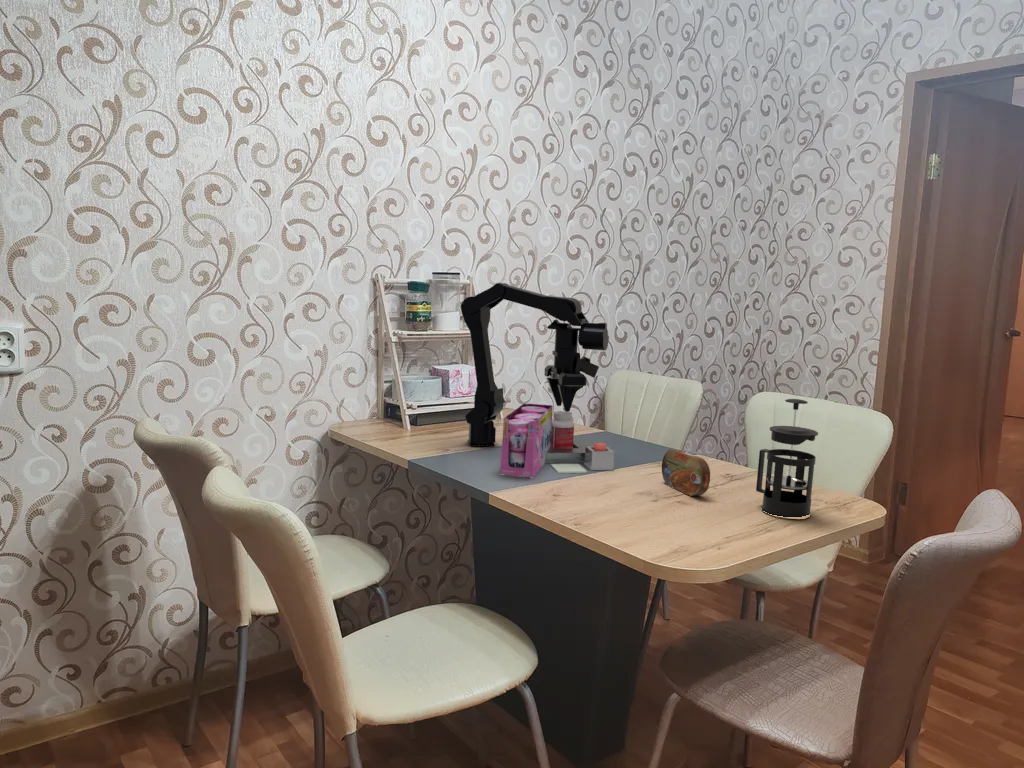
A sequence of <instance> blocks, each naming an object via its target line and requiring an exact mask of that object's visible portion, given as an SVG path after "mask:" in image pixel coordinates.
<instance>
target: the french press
mask: <svg viewBox="0 0 1024 768" xmlns="http://www.w3.org/2000/svg"><path fill="white" fill-rule="evenodd" d="M784 401H785V402H786V403H792V404H793V407H792V409H793V410H794V413H793V421H792V422H793V425H773V426H770V427H769V431H770V432H771V435H770V437H771V438H770V440H771V441H773V442H776V443H779V444H785V445H790V449H786V448H776V449H768V448H767V449H766V448H763V449H762V448H761V449H760V450H759V455H758V463H757V466H758V467H757V474H756V475H757V478H756V487H755V489H756V490H755V491H756V492H758V493H761V494H763V495H762V505H761V507H760V509H761V508H762V510H763V511H765V512H767V513H769V514H772V515H777V516H783V517H802V516H806V515H809V514H810V513H811V507H812V499H811V498H812V488H813V481H814V480H813V479H814V470H815V464H816V456H815V454H812V453H809V452H805V451H801V450H795V449H794V446H799V445H801V444H803V443H805V441H809V442H814V441H815V440H816V437H817V436H818V435H819V432H818V431H817V430H815V429H811V428H807V427H800V426H796V419H797V411H799V406H800V404H801V405H806V404H809V402H808V401H807V400H804V399H799V398H787V399H785V400H784ZM765 456H766V457H765ZM782 456H785V457H782ZM786 456H787V457H789V458H786ZM793 457H795V458H796V459H795V458H793ZM765 458H766V459H767V463H766V464H767V465H766V473H765V475H766V476H765V485H764V488H763V479H764V478H763V477H764V468H765V467H764V466H765ZM773 464H774V472H773ZM785 466H788V475H787V476H785V475H784V467H785ZM792 467H795V475H794V477H793V476H792V475H791V473H792V472H791V471H792ZM806 467H808V472H807V474H808V475H807V480H805V469H806ZM772 473H773V476H772ZM771 487H772V490H771ZM803 491H805V492H806V493H805V494H803ZM762 510H761V511H762Z"/></svg>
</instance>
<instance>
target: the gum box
mask: <svg viewBox="0 0 1024 768" xmlns="http://www.w3.org/2000/svg"><path fill="white" fill-rule="evenodd" d="M553 407H554V405H551V404H537V403H522V404H521V405H520V406H518V407H517V408H516V409H515V410H513V411H511V412H510V413H509V414H507V415H506V416H505V417H504V418H503V427H502V441H501V456H500V472H499V473H500V474H504V475H503V476H506V475H513V476H512V477H516V476H521V477H520V478H525V477H533V476H534V475H535V476H536V474H538V473H539V471H540V470H541V469H542V468H543V466H544V465H545V464H546V463H545V454H546V452H547V451H548V450H549V448H551V433H552V420H553V409H554V408H553ZM544 463H545V464H544ZM543 464H544V465H543ZM540 468H541V469H540ZM539 469H540V470H539ZM538 470H539V471H538ZM500 474H499V475H500ZM535 476H534V477H535ZM534 477H533V478H534Z"/></svg>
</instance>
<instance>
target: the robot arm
mask: <svg viewBox="0 0 1024 768" xmlns="http://www.w3.org/2000/svg"><path fill="white" fill-rule="evenodd" d="M503 301H509V302H512V303H515V304H519V305H522V306H526V307H531V308H533V309H537V310H540V311H542V312H544V313H546V314H548V315H549V316H551V317H552V318H555V319H554V320H553V321H552V322H551V323H550V324H549V325H548V326H547V329H548V330H555V333H554V334H555V335H554V336H555V337H554V350H552V351H551V353H552V354H551V355H553V356H554V358H553V364H551V365H550V364H548V365H547V366H546V367H544V377H546V380H547V383H548V386H549V388H550V390H551V393H552V396H553V399H554V401H555V404H556V407H561V406H562V407H563V409H564V410H563V411H566V412H571V408H572V406H573V405H572V404H573V402H574V398H575V397H576V395H577V394H576V393H577V392H578V391H579V390H581V389H583V388H584V387H585V386H587V378H588V377H586V376H585V375H587V376H590V377H592V378H596V375H597V373H598V371H599V368H600V366H599V365H598V364H594V363H591V359H590V358H588V357H586V356H582V357H581V354H580V352H578V346H581V348H582V349H583V350H593V351H594V350H595V351H604V352H605V351H607V349H608V347H609V340H610V338H609V337H610V336H609V330H608V323H607V322H599V323H598V322H596V323H595V322H589V320H588V319H587V318H586V316H585V314H584V313H583V311H582V303H580V300H578V299H577V298H574V297H565V296H554V295H553V296H552V295H545V294H542V293H539V292H535V291H531V290H528V289H524V288H520V287H517V286H513V285H510V284H508V283H505V282H498V283H495V284H493V286H491V287H489V288H488V289H485V290H484V291H481V292H479V293H478V294H476V295H474V296H468V297H466V298H464V299H463V301H462V302H461V304H460V311H461V314H462V317H463V321H464V324H465V325H466V326H467V329H468V330H469V333H470V341H471V347H472V348H471V349H472V354H473V362H474V363H473V364H474V371H475V378H476V387H475V388H476V389H475V393H474V399H473V400H474V401H473V403H474V404H473V408H472V409H471V410H469V411H468V412H467V414H466V415H465V419H466V423H467V424H468V439H466V440H467V443H468V445H469V446H470V447H495V443H496V430H497V428H496V427H495V422H494V421H496V419H497V416H498V415H499V414H500V413H501V412H502V411H503V409H504V404H505V403H506V400H505V397H504V388H503V387H501V388H498V386H497V384H496V382H495V377H494V376H495V375H494V370H493V362H492V360H493V359H492V353H491V347H490V338H489V332H488V331H489V330H488V329H489V326H490V325H489V324H490V321H491V309H492V310H493V308H495V307H497V305H499V304H500V303H501V302H503ZM560 321H562V322H560ZM583 373H584V374H583Z"/></svg>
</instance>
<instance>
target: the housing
mask: <svg viewBox="0 0 1024 768" xmlns="http://www.w3.org/2000/svg"><path fill="white" fill-rule="evenodd" d="M614 462H615V451H614V449H613V450H612V449H611V448H610V447H609V446H607V445H606V451H594V446H585V463H584V466H586V468H588V469H589V470H590V471H613V470H614V464H615V463H614Z"/></svg>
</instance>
